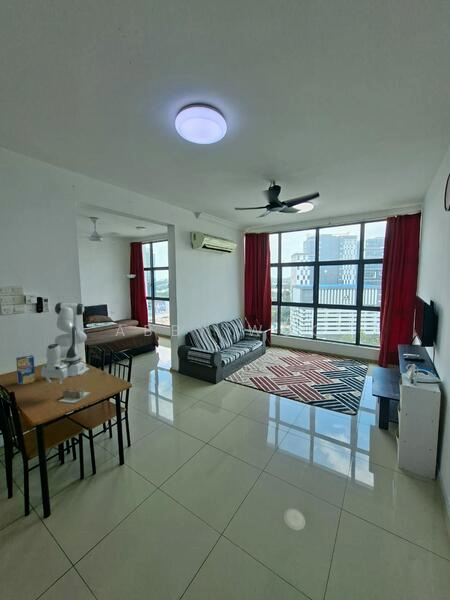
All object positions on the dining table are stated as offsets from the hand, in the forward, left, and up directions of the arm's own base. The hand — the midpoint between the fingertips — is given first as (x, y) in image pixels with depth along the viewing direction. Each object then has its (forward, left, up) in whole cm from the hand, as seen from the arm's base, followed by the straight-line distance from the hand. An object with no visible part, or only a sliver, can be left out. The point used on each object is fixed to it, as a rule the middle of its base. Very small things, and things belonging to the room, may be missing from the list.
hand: (54, 383), depth 186 cm
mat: (0, +18, -10) cm, 20 cm away
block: (0, +9, -7) cm, 11 cm away
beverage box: (-16, -44, -10) cm, 48 cm away
